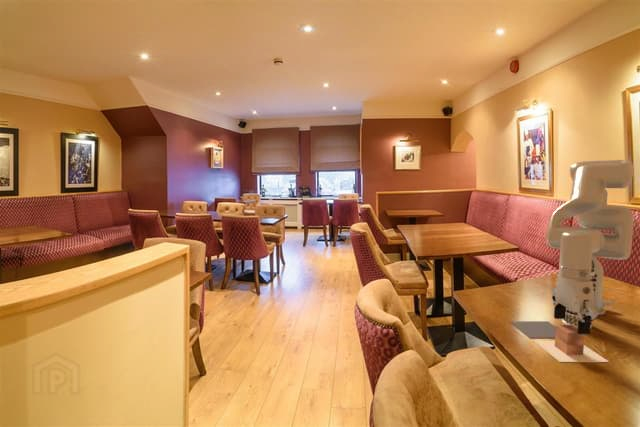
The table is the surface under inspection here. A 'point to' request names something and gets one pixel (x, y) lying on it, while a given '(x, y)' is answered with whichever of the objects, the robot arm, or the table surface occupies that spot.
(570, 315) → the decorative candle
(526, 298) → the table surface
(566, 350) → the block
